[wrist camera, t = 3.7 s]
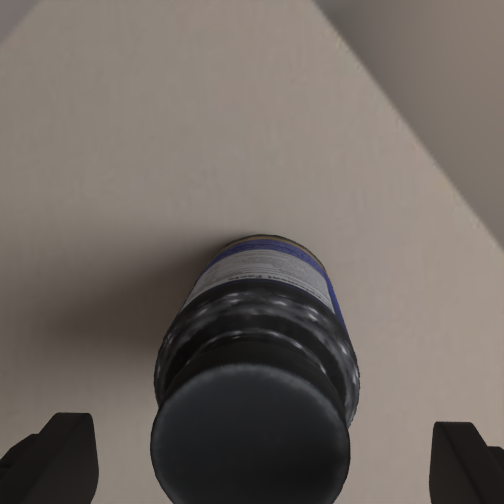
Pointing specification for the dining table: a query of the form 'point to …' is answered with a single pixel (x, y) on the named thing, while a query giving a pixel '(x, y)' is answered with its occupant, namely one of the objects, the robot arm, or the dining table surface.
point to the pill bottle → (256, 382)
